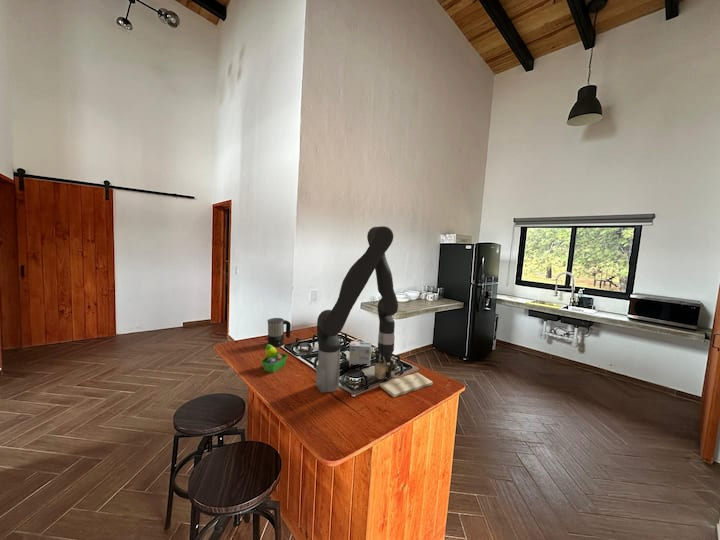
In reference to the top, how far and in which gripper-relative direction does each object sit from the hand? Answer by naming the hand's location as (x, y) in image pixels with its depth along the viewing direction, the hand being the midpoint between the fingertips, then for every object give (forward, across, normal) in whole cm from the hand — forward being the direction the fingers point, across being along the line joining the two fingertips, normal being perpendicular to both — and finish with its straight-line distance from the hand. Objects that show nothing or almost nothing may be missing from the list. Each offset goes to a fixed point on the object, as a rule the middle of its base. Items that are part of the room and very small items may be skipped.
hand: (384, 375), depth 135 cm
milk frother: (+1, -65, -33) cm, 73 cm away
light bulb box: (+1, -17, -3) cm, 17 cm away
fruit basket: (+1, -33, -43) cm, 54 cm away
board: (0, +11, +4) cm, 12 cm away
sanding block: (0, 0, 0) cm, 0 cm away
